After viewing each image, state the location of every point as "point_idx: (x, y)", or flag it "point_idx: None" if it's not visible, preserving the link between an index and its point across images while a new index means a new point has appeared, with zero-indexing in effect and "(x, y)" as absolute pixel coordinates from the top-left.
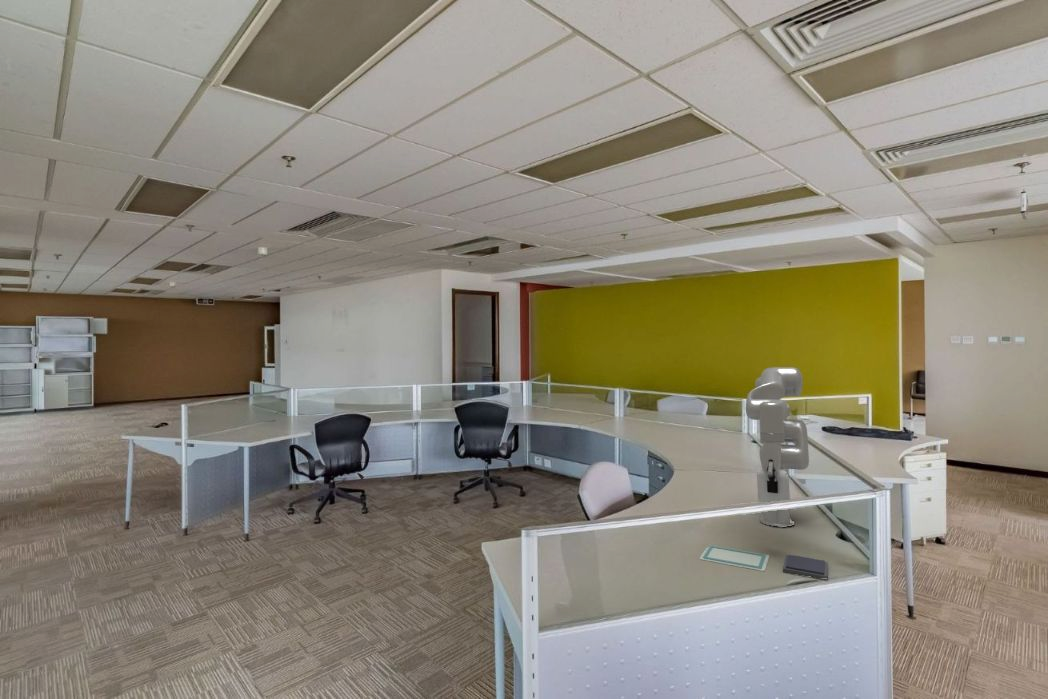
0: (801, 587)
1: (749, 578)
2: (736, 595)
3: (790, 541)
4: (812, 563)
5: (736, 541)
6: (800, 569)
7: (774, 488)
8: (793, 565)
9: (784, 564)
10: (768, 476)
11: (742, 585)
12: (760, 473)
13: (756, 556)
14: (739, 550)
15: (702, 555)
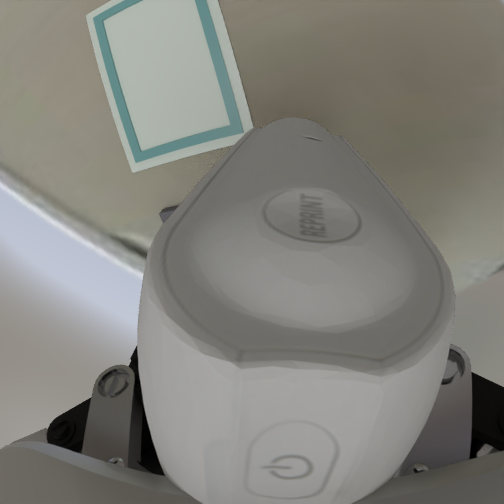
0: (124, 260)
1: (77, 163)
2: (16, 182)
3: (434, 164)
4: None
5: (318, 7)
6: None
7: None
8: None
9: None
10: (52, 423)
11: (45, 169)
12: (138, 346)
13: (215, 111)
14: (219, 51)
15: (110, 3)
